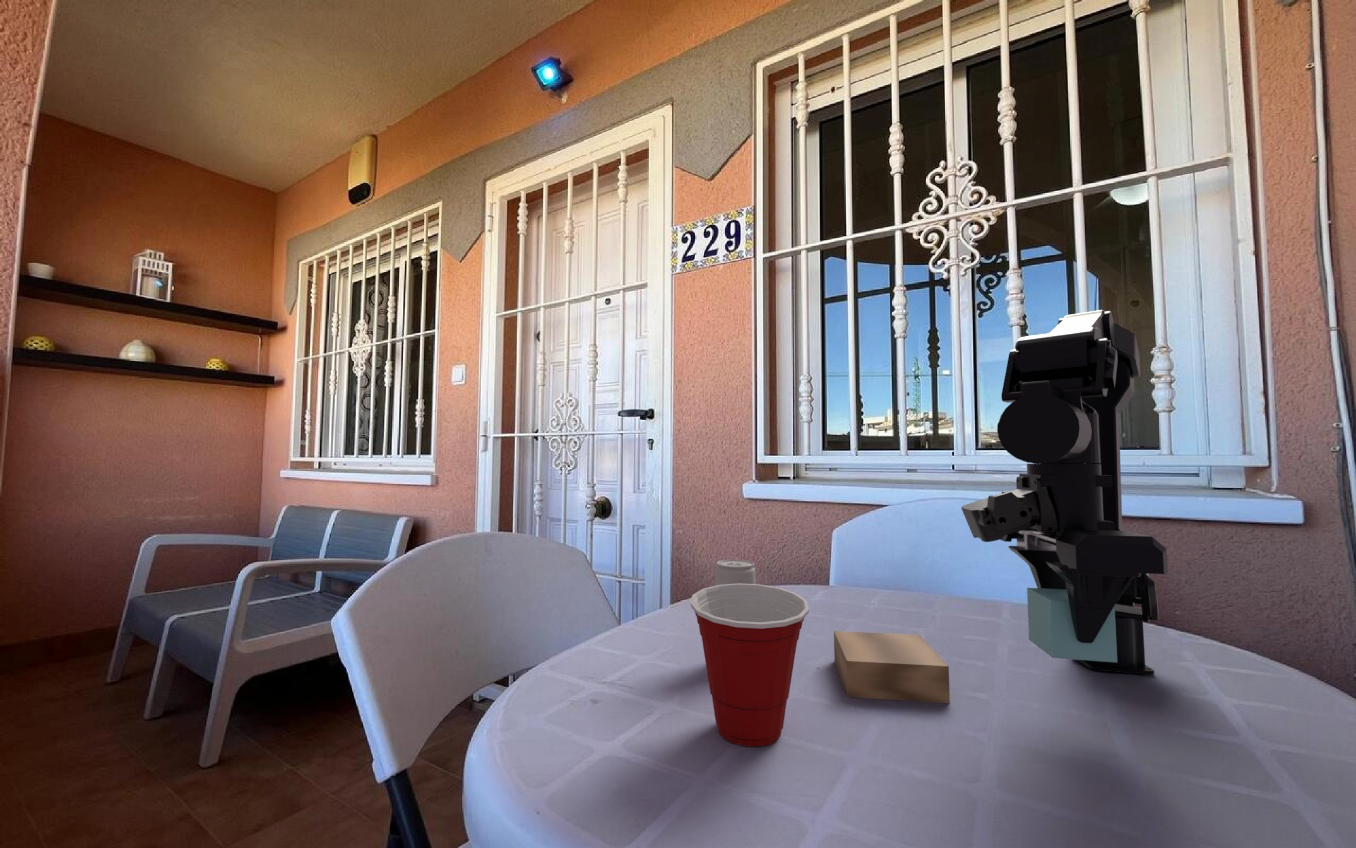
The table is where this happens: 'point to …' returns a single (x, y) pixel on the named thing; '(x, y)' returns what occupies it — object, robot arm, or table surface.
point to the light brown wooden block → (890, 667)
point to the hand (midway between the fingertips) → (1069, 633)
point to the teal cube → (1066, 628)
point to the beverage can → (735, 572)
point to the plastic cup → (749, 656)
